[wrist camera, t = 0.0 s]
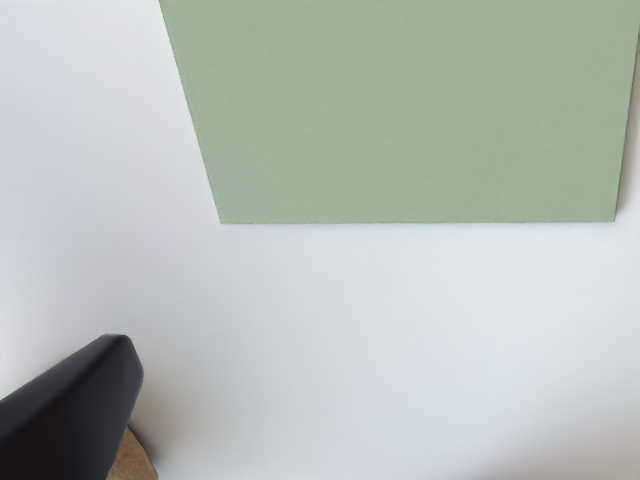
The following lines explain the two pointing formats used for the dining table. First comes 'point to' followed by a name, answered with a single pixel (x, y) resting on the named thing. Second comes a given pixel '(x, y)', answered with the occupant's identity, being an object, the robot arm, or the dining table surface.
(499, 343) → the dining table surface
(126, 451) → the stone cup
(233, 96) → the mat
